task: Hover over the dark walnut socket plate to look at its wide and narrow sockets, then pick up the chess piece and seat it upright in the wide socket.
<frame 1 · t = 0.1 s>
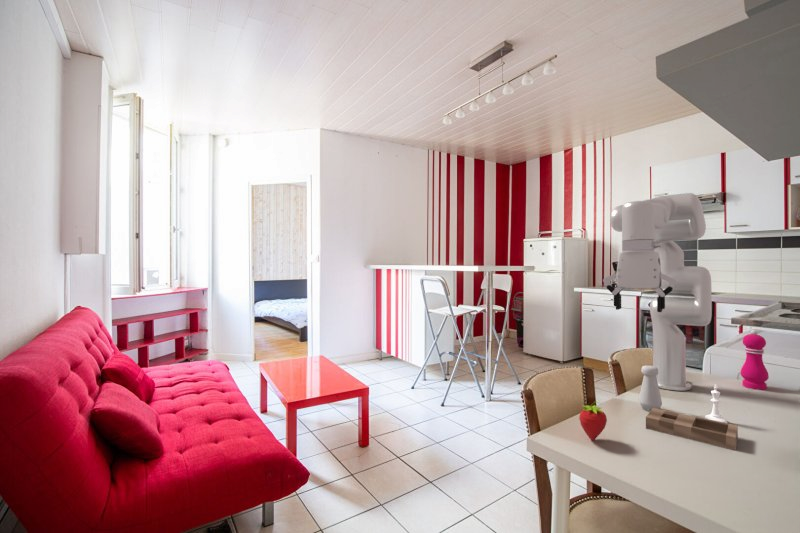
hand: (638, 310, 104), 31 cm above the table, tool pointing down, fingers open, 9 cm apart
socket plate: (690, 432, 99), on the table
chess piece: (715, 421, 107), on the table
salt shaker: (650, 410, 115), on the table
pepper mill: (754, 387, 134), on the table
strawberry: (593, 440, 96), on the table
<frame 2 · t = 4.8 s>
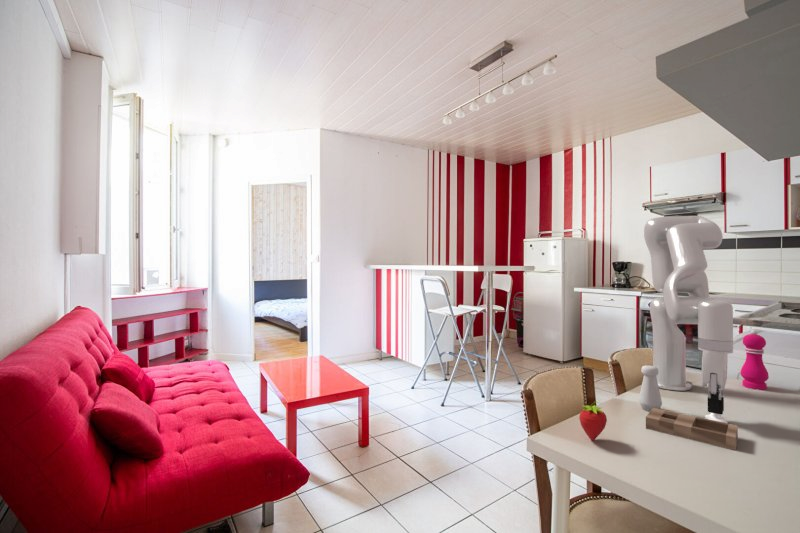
hand: (715, 411, 107), 3 cm above the table, tool pointing down, fingers closed on chess piece
chess piece: (715, 421, 107), on the table, touching gripper
everything else where it was.
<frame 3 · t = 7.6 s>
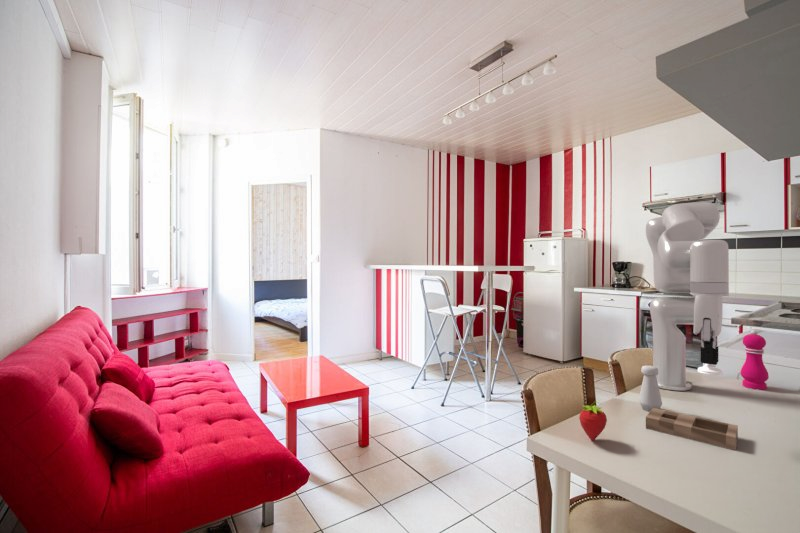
hand: (709, 362, 97), 19 cm above the table, tool pointing down, fingers closed on chess piece
chess piece: (709, 373, 96), point 16 cm above the table, touching gripper
everything else where it was.
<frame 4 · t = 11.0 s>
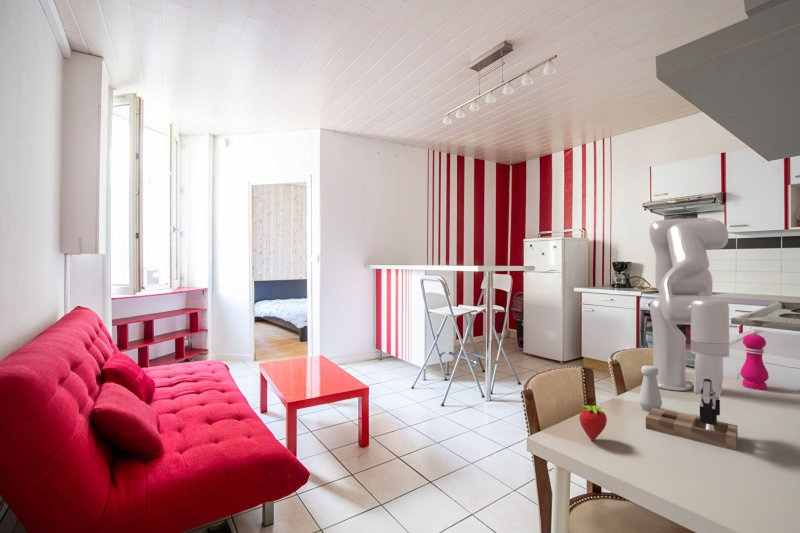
hand: (710, 418, 96), 5 cm above the table, tool pointing down, fingers open, 7 cm apart
chess piece: (710, 438, 97), resting in socket plate
everything else where it was.
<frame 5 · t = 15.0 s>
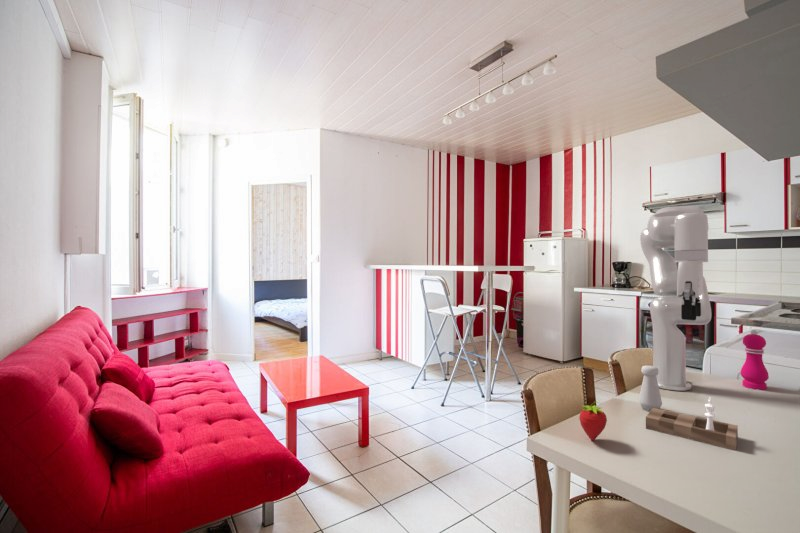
hand: (691, 317, 108), 28 cm above the table, tool pointing down, fingers open, 9 cm apart
nothing on the table moved.
at the end: chess piece 0.1 cm from the target spot on the socket plate, point 0.0 cm above the socket plate's base; chess piece tilted 0°; the gripper is holding nothing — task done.
